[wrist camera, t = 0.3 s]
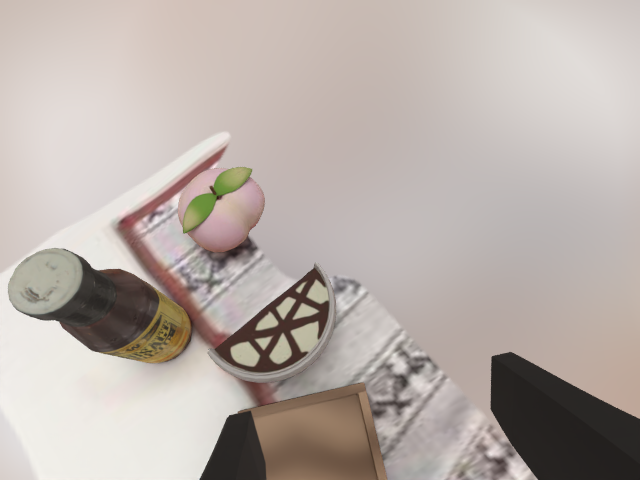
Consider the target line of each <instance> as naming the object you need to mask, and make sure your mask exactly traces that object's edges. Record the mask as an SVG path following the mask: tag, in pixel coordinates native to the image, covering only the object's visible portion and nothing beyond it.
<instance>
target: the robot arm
mask: <svg viewBox="0 0 640 480" xmlns="http://www.w3.org/2000/svg"><path fill="white" fill-rule="evenodd" d="M491 366H492V367H491V411H492V412H493V414H494V416H495V418H496V419H497V421H498V423H499V425H500V426H501V428H502V430H503V431H504V433H505V435H506V436H507V438H508V439H509V441H510V443H511V444H512V446H513V447H514V448H515V450H516V451H517V452H518V454H519V455H520V456H521V458H522V459H523V460H524V462H525V463H526V464H527V466H528V467H529V468H530V470H531V471H532V472H533V474H534V475H535V476H536V478H537V479H538V480H640V419H638V418H636V417H634V416H632V415H630V414H628V413H626V412H624V411H622V410H620V409H618V408H616V407H614V406H612V405H610V404H608V403H606V402H604V401H602V400H600V399H598V398H596V397H594V396H592V395H590V394H588V393H586V392H585V391H583V390H581V389H579V388H577V387H575V386H573V385H571V384H569V383H568V382H566V381H564V380H562V379H560V378H558V377H557V376H555V375H553V374H551V373H549V372H547V371H546V370H544V369H542V368H540V367H538V366H536V365H535V364H533V363H531V362H529V361H527V360H525V359H524V358H521V357H520V356H518V355H516V354H514V353H512V352H509V353H504V354H500V355H495V356H492V363H491ZM200 480H266V462H265V459H264V455H263V452H262V448H261V444H260V441H259V437H258V434H257V430H256V427H255V423H254V420H253V416H252V413H251V411H247V412H242V413H238V414H234V415H229V417H228V418H227V419H226V422H225V424H224V427H223V429H222V431H221V434H220V436H219V439H218V441H217V443H216V445H215V448H214V450H213V452H212V454H211V457H210V459H209V461H208V463H207V465H206V467H205V469H204V472H203V474H202V476H201V478H200Z"/></svg>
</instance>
